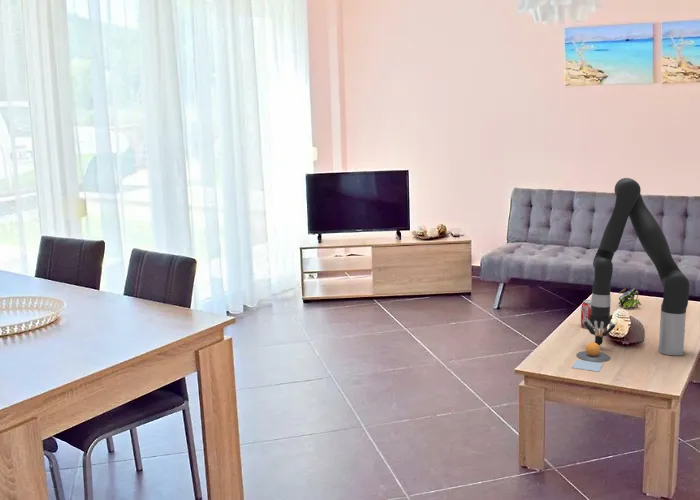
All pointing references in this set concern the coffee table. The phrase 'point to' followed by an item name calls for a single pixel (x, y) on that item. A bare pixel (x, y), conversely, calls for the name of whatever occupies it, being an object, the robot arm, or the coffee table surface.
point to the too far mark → (587, 365)
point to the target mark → (593, 357)
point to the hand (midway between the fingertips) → (598, 344)
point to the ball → (593, 349)
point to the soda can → (586, 312)
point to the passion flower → (631, 301)
